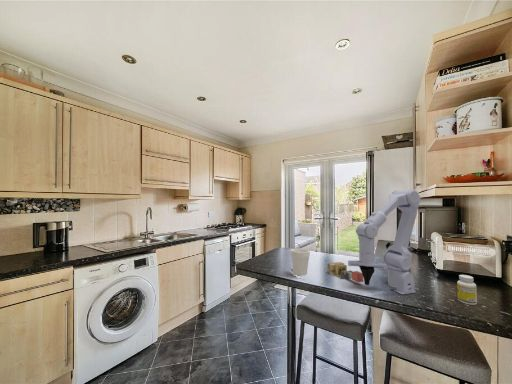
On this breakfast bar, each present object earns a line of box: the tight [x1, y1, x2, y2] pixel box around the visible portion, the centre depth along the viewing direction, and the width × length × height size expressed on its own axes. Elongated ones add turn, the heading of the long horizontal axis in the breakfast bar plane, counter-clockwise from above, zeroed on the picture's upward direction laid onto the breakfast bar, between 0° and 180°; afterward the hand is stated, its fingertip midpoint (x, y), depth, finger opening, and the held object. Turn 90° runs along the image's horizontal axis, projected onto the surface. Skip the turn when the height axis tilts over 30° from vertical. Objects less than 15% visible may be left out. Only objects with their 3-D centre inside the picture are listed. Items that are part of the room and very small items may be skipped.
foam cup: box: [290, 247, 311, 276], centre depth 112 cm, size 10×9×13 cm
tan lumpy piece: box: [334, 263, 348, 275], centre depth 109 cm, size 3×5×5 cm, turn 107°
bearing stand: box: [327, 261, 353, 280], centre depth 109 cm, size 11×10×6 cm
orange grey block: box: [343, 270, 364, 283], centre depth 101 cm, size 10×3×4 cm, turn 17°
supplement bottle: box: [456, 274, 478, 306], centre depth 85 cm, size 5×5×10 cm
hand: (366, 284), depth 93 cm, fingers closed
